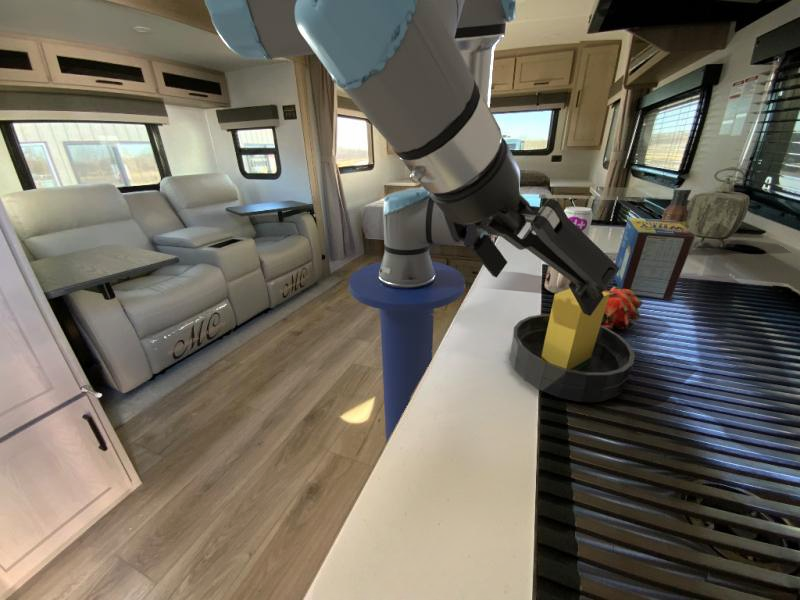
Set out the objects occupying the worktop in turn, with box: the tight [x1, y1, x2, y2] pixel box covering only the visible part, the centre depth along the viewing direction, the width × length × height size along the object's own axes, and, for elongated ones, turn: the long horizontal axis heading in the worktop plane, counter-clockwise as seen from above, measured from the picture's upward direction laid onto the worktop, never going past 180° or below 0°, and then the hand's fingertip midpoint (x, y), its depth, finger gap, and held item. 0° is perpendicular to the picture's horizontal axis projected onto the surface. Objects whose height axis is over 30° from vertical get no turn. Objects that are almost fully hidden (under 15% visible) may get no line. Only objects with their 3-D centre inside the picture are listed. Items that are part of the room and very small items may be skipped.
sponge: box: [541, 289, 610, 371], centre depth 52 cm, size 4×7×13 cm, turn 122°
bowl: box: [509, 313, 636, 403], centre depth 54 cm, size 17×17×6 cm
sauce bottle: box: [660, 187, 692, 227], centre depth 104 cm, size 6×6×20 cm
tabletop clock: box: [685, 167, 751, 249], centre depth 108 cm, size 14×9×25 cm, turn 40°
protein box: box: [613, 217, 696, 301], centre depth 81 cm, size 10×15×16 cm
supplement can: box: [563, 206, 594, 238], centre depth 102 cm, size 8×8×15 cm
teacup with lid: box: [544, 264, 571, 295], centre depth 80 cm, size 12×9×12 cm
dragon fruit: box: [601, 286, 643, 331], centre depth 66 cm, size 8×8×12 cm
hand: (541, 285), depth 42 cm, fingers open, 13 cm apart
